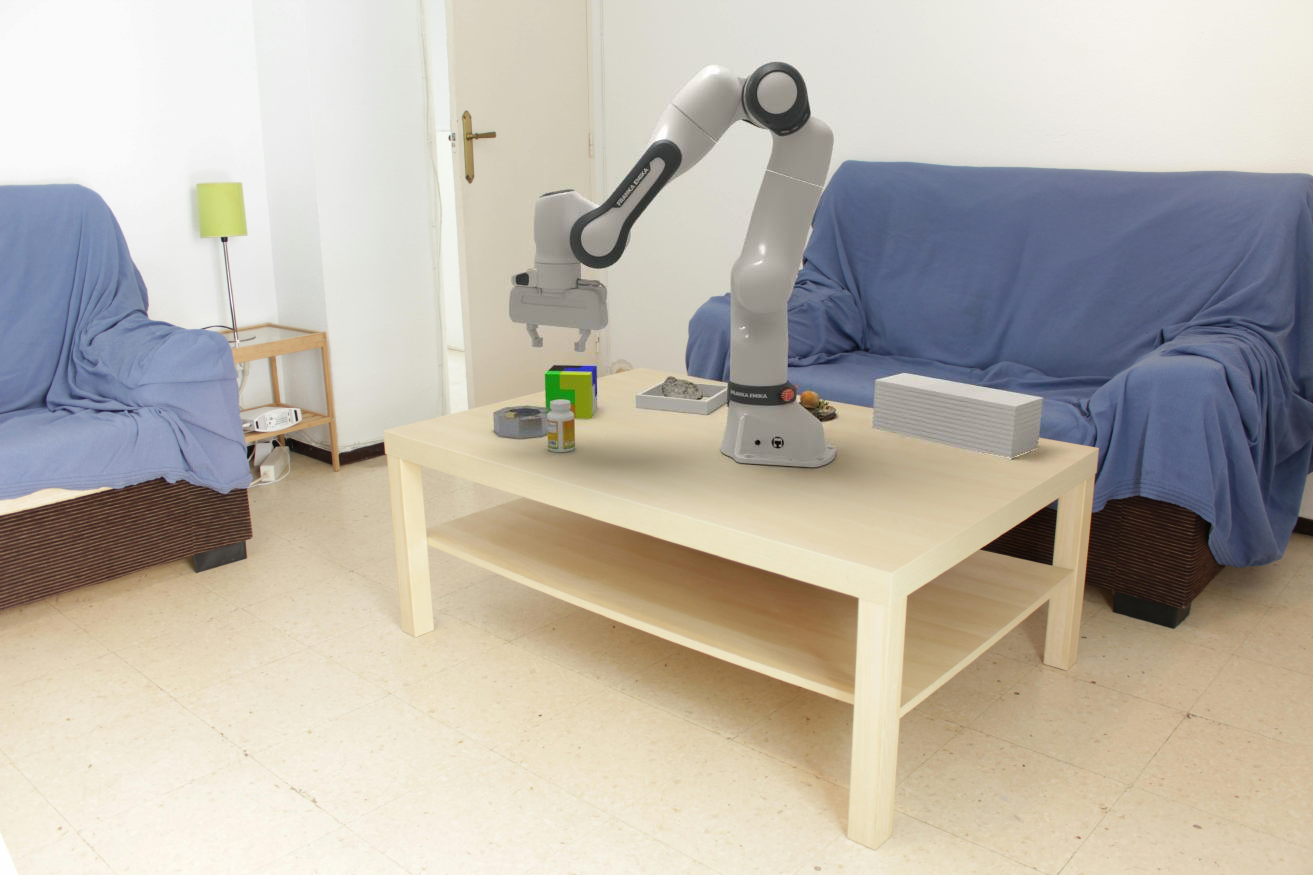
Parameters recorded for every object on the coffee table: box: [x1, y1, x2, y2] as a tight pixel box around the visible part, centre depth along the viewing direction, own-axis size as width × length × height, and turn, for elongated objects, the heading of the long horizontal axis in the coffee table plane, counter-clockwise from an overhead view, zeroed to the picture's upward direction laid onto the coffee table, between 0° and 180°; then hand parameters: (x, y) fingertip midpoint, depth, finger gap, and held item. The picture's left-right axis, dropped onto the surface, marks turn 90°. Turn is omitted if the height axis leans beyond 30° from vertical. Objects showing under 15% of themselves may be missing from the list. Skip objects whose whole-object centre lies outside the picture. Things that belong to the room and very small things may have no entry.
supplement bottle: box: [547, 400, 576, 453], centre depth 198 cm, size 5×5×10 cm
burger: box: [798, 390, 837, 423], centre depth 225 cm, size 12×12×8 cm
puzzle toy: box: [544, 364, 598, 420], centre depth 227 cm, size 10×10×10 cm
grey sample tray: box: [635, 379, 728, 416], centre depth 237 cm, size 18×18×3 cm
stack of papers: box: [871, 372, 1044, 458], centre depth 206 cm, size 32×11×11 cm, turn 43°
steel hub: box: [492, 404, 551, 440], centre depth 212 cm, size 12×12×5 cm
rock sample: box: [660, 375, 704, 400], centre depth 236 cm, size 11×8×9 cm
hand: (558, 349), depth 195 cm, fingers open, 8 cm apart
